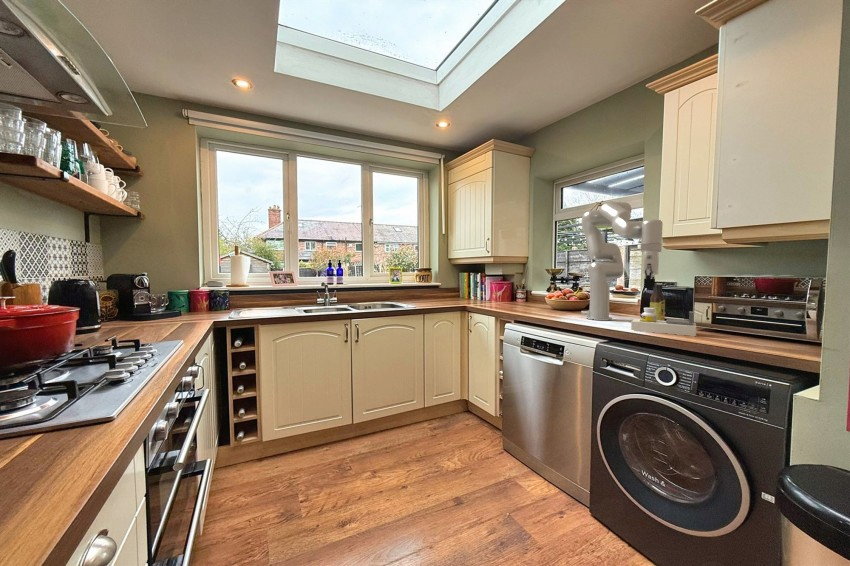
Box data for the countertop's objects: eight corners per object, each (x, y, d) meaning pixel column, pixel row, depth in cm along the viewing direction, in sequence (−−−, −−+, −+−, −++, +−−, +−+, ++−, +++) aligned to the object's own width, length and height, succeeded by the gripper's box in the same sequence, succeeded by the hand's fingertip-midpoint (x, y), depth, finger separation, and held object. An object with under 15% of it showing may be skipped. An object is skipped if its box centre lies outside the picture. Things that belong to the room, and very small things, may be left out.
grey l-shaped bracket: (665, 322, 142) (666, 311, 142) (667, 320, 148) (667, 309, 148) (693, 324, 137) (693, 313, 136) (693, 322, 143) (693, 311, 143)
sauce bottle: (664, 324, 167) (665, 284, 166) (648, 323, 171) (649, 283, 170) (664, 323, 172) (665, 284, 172) (649, 322, 176) (650, 283, 175)
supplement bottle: (638, 329, 151) (639, 307, 150) (646, 329, 153) (647, 307, 153) (650, 331, 146) (651, 308, 145) (659, 330, 148) (659, 308, 148)
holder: (631, 330, 148) (631, 321, 148) (634, 327, 158) (635, 318, 157) (695, 336, 135) (696, 326, 134) (695, 332, 144) (695, 323, 144)
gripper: (660, 247, 139) (658, 289, 140) (662, 249, 153) (661, 287, 154) (638, 247, 144) (636, 288, 145) (642, 249, 157) (641, 286, 158)
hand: (649, 287), depth 149 cm, fingers open, 9 cm apart
